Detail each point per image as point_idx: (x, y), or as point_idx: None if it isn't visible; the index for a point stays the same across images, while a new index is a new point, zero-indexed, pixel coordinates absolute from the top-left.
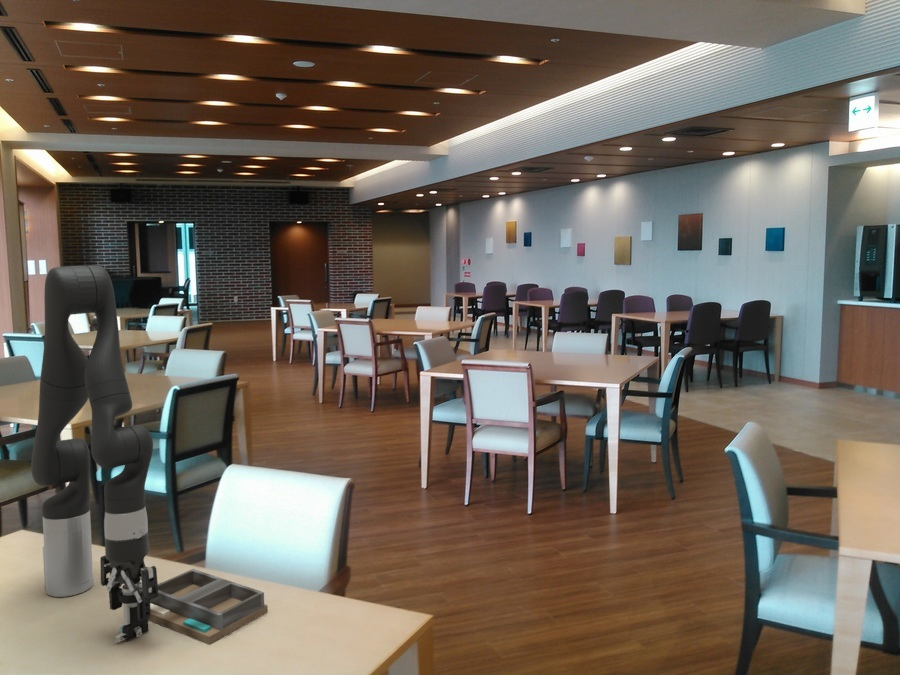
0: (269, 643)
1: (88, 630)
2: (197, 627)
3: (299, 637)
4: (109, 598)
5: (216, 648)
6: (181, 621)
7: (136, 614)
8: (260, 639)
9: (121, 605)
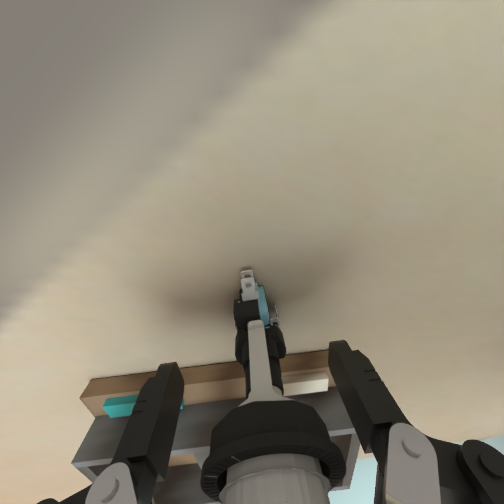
0: (27, 429)
1: (385, 254)
2: (126, 402)
3: (23, 454)
4: (379, 378)
5: (65, 380)
6: (196, 392)
7: (244, 368)
8: (53, 427)
9: (330, 368)
